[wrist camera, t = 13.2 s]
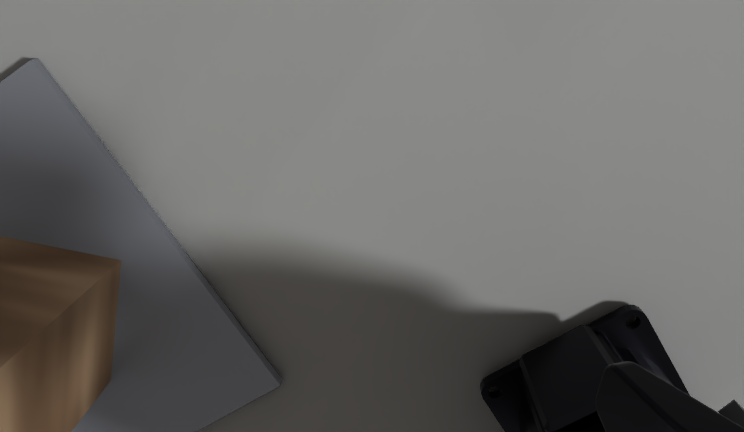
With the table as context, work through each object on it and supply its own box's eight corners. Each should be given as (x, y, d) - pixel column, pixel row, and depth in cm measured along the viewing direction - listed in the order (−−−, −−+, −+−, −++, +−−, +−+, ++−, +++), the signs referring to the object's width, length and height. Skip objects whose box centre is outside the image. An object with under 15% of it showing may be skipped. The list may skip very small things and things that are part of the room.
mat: (281, 379, 23) (280, 385, 23) (64, 499, 25) (59, 506, 25) (38, 58, 20) (31, 59, 19) (-191, 226, 22) (-202, 230, 21)
